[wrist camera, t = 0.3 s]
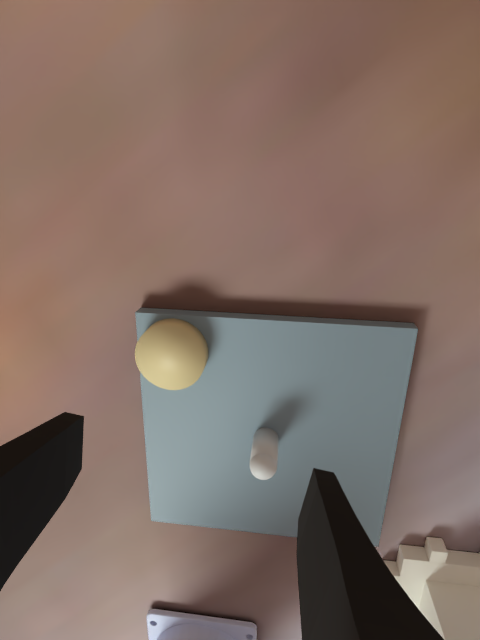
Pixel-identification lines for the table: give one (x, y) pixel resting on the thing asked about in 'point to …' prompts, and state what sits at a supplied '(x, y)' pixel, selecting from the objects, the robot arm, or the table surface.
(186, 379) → the carrier plate
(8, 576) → the robot arm
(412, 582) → the gear
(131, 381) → the table surface
